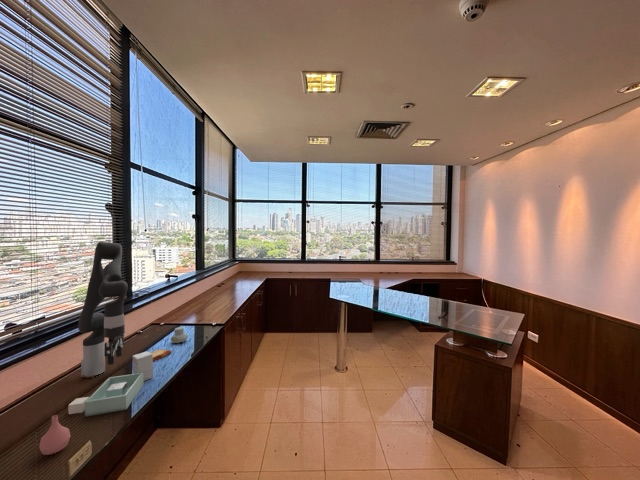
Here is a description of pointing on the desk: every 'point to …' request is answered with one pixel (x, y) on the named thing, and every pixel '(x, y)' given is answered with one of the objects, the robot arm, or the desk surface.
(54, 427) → the pink vase
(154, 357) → the slice of bread
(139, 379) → the tote
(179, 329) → the air freshener
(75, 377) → the desk surface
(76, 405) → the cream box
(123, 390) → the tin block
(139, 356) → the supplement box
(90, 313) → the robot arm
